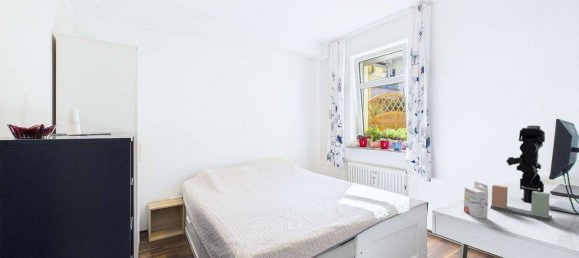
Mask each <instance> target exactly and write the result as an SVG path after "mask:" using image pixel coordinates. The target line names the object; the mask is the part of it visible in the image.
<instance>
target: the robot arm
mask: <svg viewBox="0 0 579 258" xmlns="http://www.w3.org/2000/svg"><path fill="white" fill-rule="evenodd" d="M518 134H519V137H518V142H522V143H521V144H520V146H519V150H520V152H521V154H520V155H519V157H513V156H510V157H507V159H506V163H507V164H508V166H514V165H517V166H516V171H520V172H521V173H522V175H521V177H520V179H519V190H523V197H521V201H523V202H525V203H531V204H532V192H533V191H536V192H543V193H545V192H544V191H545V184H544V183H543V181H542V180H541V176H540V174H539V173H538V172H539V170H541V169H542V165H541V164H540V163H539V162H538V161H539V150H540V149H541V148H542V147H543V146H544V143H545V142H546V132H545V131H544V130H542V128H541V126H539V125H527V126H526V127H522V128H521V129H519V133H518Z"/></svg>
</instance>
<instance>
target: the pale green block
mask: <svg viewBox="0 0 579 258" xmlns="http://www.w3.org/2000/svg"><path fill="white" fill-rule="evenodd" d="M550 195H551V194H550V193H548V192H536V191H533V192H532V203H531V206H530V207H531V208H530V211H531V215H536V216H540V217H545V218H548V217H549V215H550V198H551V197H550Z"/></svg>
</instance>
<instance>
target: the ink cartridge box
mask: <svg viewBox="0 0 579 258" xmlns="http://www.w3.org/2000/svg"><path fill="white" fill-rule="evenodd" d="M473 183H474V187H471V186H470V187H469V186H465V187H464V195H463V198H464V199H463V212H464V211H465V213H466V214H468V215H470V216H471V217H474V218H475V217H476V218H475V219H488V209H489V206H488V205H489V202H488V201H489V191H488V190H489V189H488V185H487V184H484V183H482V182H478V181H476V180H474V181H473Z"/></svg>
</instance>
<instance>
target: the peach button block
mask: <svg viewBox="0 0 579 258" xmlns="http://www.w3.org/2000/svg"><path fill="white" fill-rule="evenodd" d="M491 188H492V189H491V190H492V191H491V205H492V206H495V207H500V208H504V209H505V208H507V206H508V189H509V188H508V186H505V185H500V184H492V186H491Z"/></svg>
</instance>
